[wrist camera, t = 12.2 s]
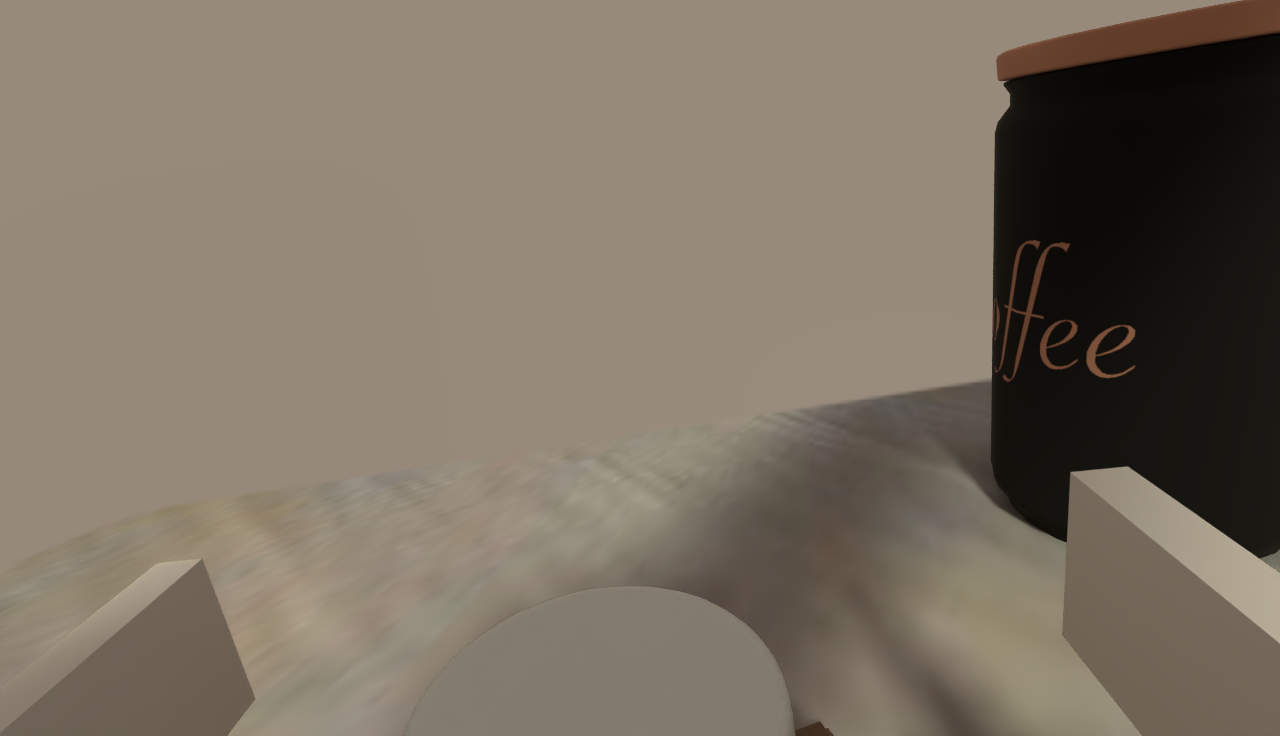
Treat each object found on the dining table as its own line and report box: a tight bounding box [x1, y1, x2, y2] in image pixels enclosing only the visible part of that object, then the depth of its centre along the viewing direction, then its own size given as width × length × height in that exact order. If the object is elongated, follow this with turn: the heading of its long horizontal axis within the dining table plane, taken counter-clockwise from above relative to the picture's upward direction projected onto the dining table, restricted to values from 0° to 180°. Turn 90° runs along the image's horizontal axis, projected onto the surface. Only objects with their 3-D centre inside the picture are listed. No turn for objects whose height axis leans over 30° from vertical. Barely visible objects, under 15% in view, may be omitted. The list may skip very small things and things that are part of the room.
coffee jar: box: [991, 0, 1280, 558], centre depth 26 cm, size 11×11×18 cm
